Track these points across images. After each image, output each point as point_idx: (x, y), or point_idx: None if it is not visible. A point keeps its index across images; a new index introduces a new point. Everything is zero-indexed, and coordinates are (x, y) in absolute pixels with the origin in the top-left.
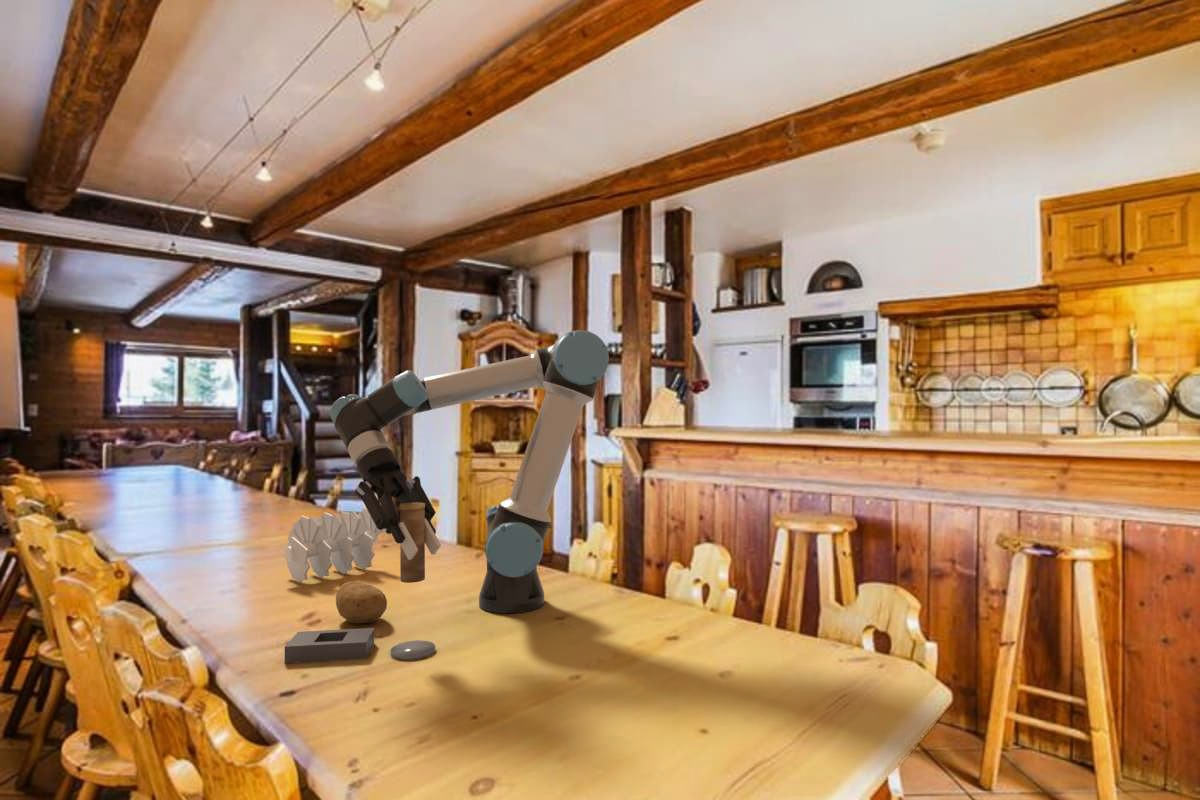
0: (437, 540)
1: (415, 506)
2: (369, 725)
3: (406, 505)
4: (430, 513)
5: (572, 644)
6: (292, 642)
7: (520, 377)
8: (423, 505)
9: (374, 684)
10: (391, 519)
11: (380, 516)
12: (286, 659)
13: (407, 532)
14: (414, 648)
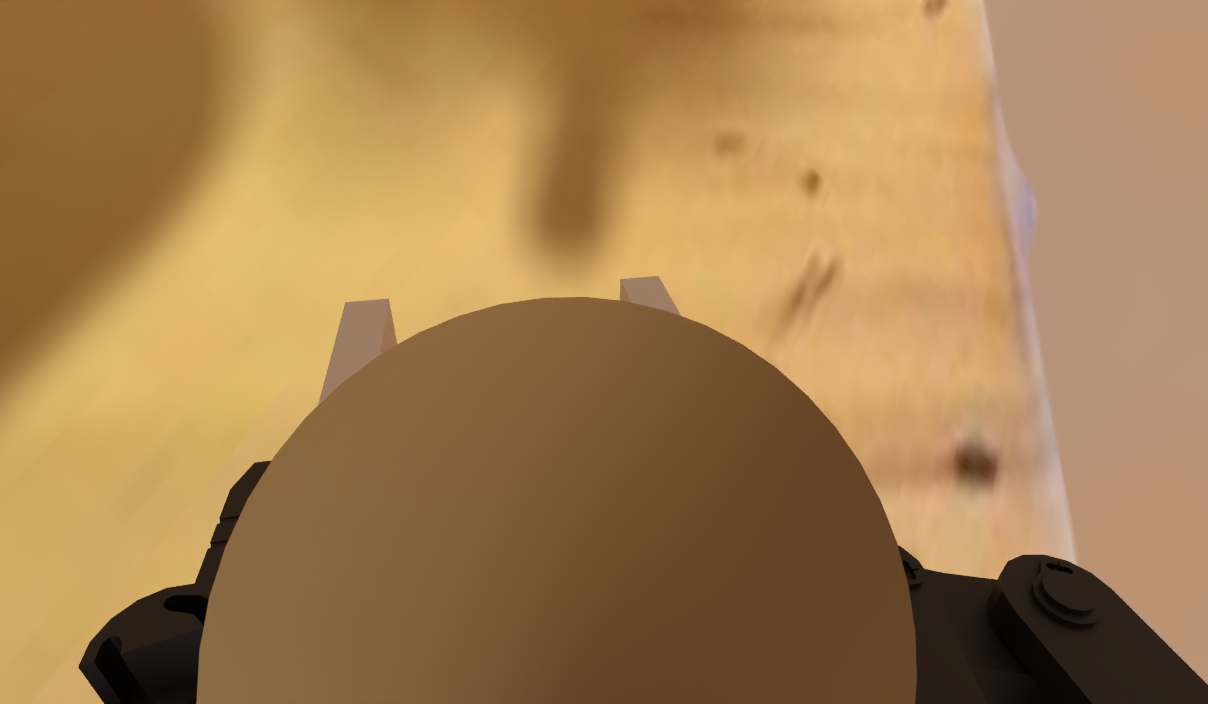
0: (349, 335)
1: (655, 312)
2: (855, 118)
3: (812, 507)
4: (115, 629)
5: (8, 141)
6: None
7: None
8: (403, 353)
9: (752, 340)
10: (937, 613)
11: (1172, 655)
12: None
13: None
14: None
